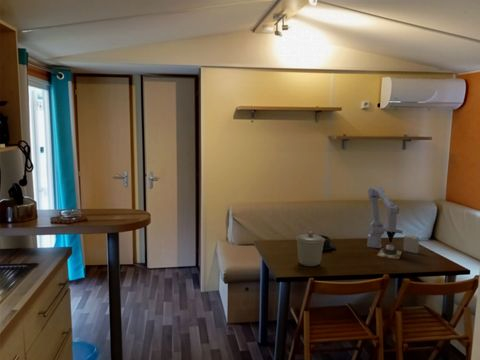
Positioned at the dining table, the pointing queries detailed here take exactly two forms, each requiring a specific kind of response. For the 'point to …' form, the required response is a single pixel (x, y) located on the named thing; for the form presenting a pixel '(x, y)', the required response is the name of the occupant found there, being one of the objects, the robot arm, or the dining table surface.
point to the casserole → (327, 243)
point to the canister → (309, 249)
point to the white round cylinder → (390, 247)
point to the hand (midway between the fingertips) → (390, 242)
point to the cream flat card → (389, 253)
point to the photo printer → (411, 243)
